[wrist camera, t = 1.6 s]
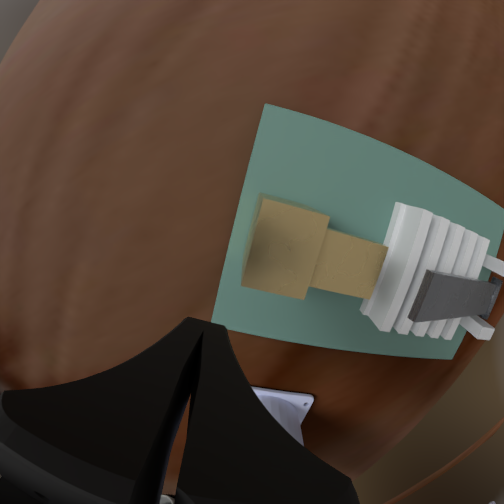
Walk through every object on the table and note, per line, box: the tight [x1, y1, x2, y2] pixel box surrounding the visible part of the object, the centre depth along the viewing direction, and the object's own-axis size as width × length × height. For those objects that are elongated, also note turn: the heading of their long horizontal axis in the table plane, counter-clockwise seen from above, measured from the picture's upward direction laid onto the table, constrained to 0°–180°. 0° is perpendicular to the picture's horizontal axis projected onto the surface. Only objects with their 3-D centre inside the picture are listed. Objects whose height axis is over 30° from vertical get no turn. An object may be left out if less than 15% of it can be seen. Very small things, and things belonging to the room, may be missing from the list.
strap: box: [407, 269, 503, 323], centre depth 13 cm, size 3×12×1 cm, turn 76°
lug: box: [241, 192, 389, 300], centre depth 15 cm, size 4×6×5 cm, turn 76°
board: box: [211, 104, 504, 360], centre depth 17 cm, size 15×23×6 cm, turn 76°
